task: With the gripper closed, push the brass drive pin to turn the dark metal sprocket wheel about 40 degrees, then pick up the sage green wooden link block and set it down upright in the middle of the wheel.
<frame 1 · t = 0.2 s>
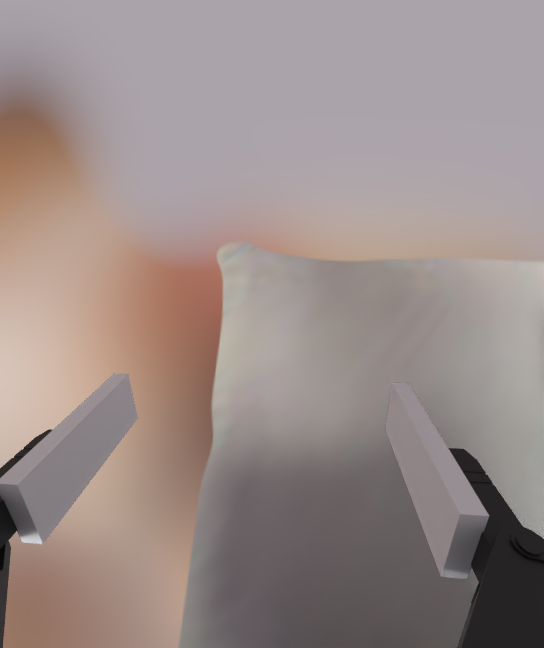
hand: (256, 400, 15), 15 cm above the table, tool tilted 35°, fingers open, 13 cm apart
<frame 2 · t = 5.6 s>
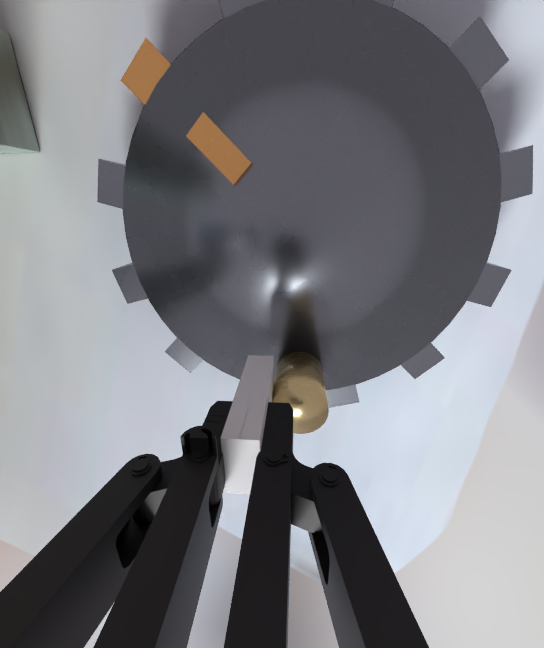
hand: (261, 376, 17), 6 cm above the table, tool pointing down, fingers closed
sprocket wheel: (302, 236, 16), point 4 cm above the table, hinge at 0.1°, touching gripper
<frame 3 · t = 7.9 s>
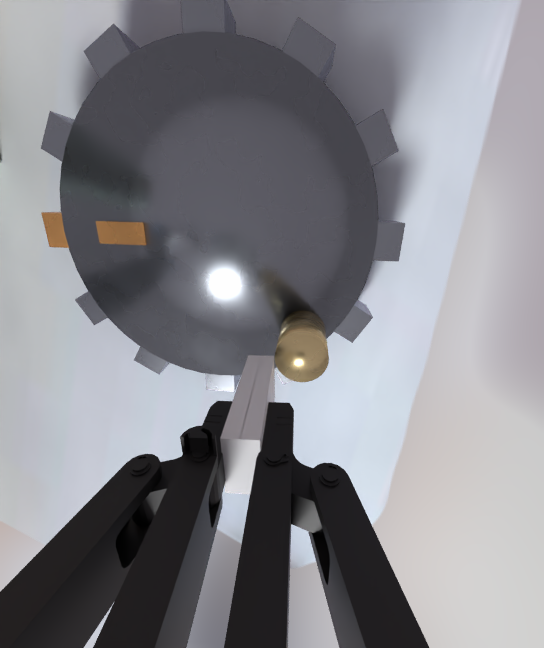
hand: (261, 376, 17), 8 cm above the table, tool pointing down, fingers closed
sprocket wheel: (209, 237, 19), point 4 cm above the table, hinge at 43.0°, touching gripper
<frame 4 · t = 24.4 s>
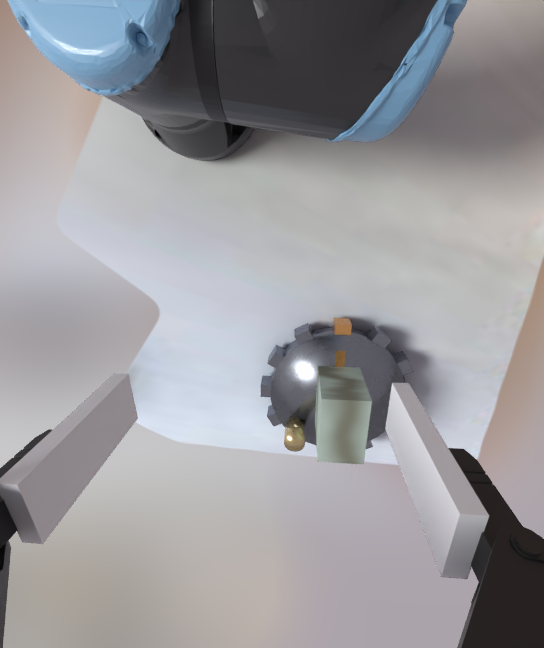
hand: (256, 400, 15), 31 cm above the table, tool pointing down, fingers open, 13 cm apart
link block: (336, 395, 46), point 4 cm above the table, touching sprocket wheel
sprocket wheel: (336, 397, 46), point 4 cm above the table, hinge at 43.3°, touching link block
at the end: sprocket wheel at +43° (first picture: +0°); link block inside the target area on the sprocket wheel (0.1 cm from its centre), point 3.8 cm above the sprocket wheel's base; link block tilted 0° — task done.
